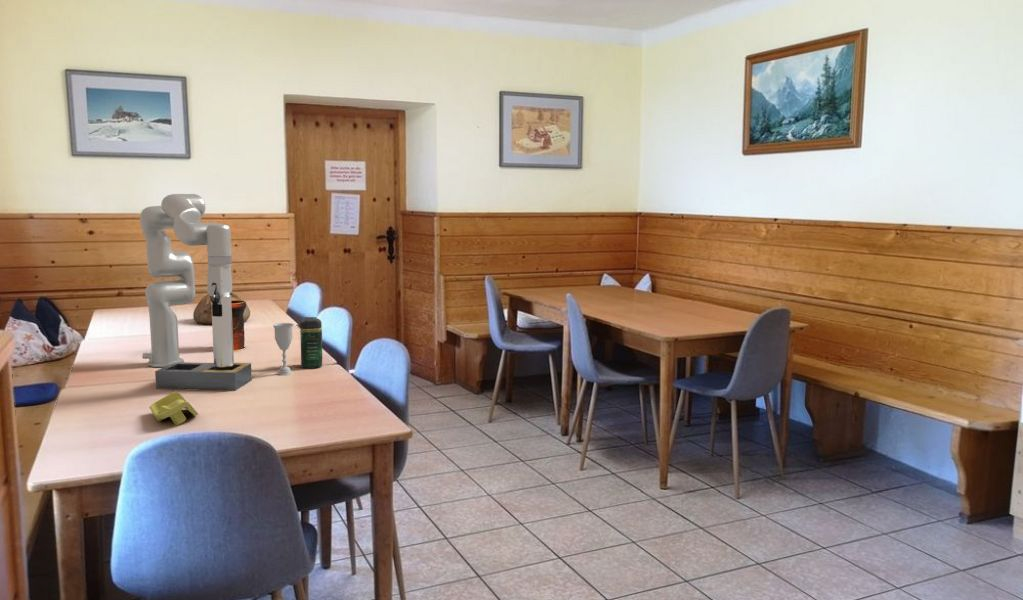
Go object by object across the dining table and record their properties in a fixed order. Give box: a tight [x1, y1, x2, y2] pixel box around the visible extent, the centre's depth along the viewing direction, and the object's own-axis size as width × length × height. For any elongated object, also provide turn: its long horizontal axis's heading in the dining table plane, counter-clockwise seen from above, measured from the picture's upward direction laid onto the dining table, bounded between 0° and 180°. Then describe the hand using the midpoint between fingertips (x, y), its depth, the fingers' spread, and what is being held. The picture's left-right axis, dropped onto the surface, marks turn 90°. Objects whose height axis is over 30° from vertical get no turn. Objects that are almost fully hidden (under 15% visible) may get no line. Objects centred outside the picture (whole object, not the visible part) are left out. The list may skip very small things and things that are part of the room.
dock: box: [154, 361, 253, 391], centre depth 267 cm, size 27×14×6 cm, turn 87°
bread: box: [192, 292, 251, 325], centre depth 394 cm, size 26×23×15 cm
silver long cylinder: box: [211, 293, 235, 368], centre depth 265 cm, size 6×6×25 cm
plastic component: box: [149, 391, 199, 426], centre depth 227 cm, size 20×7×10 cm
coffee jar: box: [299, 316, 323, 369], centre depth 295 cm, size 10×8×19 cm
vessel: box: [210, 300, 247, 352], centre depth 327 cm, size 14×14×20 cm
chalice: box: [272, 322, 294, 376], centre depth 283 cm, size 7×7×18 cm
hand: (221, 314), depth 264 cm, fingers closed on silver long cylinder, 6 cm apart
